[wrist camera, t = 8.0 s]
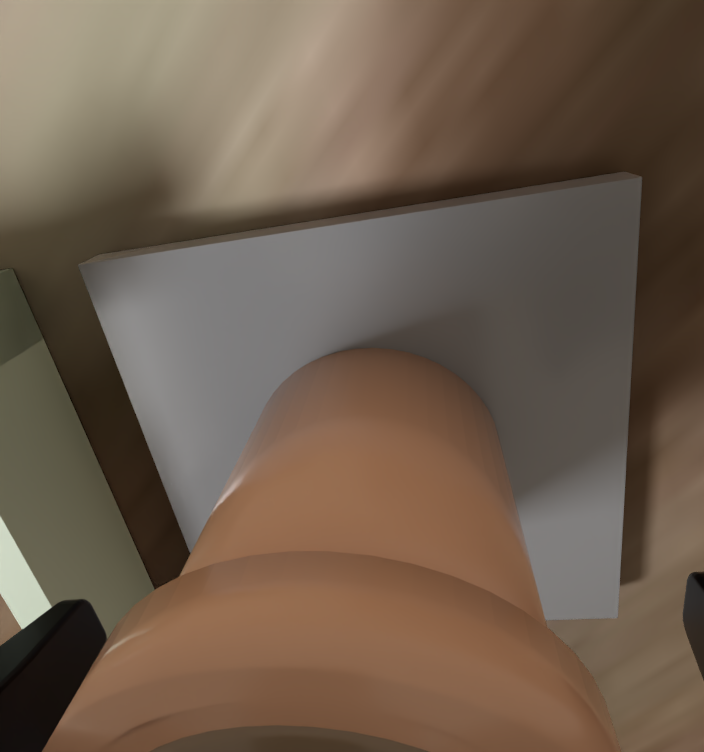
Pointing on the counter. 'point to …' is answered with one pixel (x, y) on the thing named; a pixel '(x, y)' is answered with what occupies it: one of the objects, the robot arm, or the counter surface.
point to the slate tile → (407, 346)
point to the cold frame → (54, 488)
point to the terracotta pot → (349, 592)
